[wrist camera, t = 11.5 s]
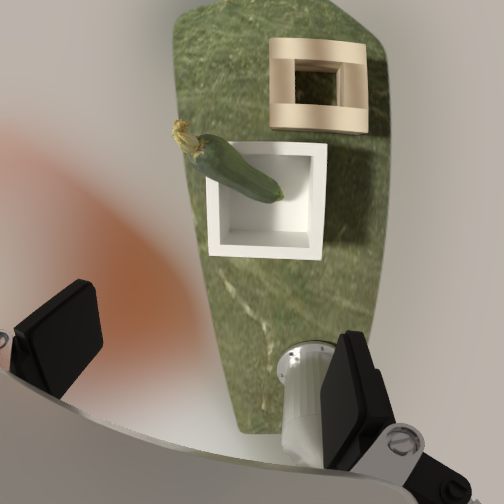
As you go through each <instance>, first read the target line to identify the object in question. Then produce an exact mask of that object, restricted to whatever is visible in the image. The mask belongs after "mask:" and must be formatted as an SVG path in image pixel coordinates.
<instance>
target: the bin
mask: <svg viewBox="0 0 504 504" xmlns="http://www.w3.org/2000/svg"><path fill="white" fill-rule="evenodd" d="M228 143H230V144H231V145H232V146H233V147H234V148H235V149H236V150H237V151H238V152H239V153H240V155H241V156H242V157H243V159H244V160H245V161H246V162H247V163H248V164H249V165H250V166H252V167H253V168H255V169H257V170H259V171H260V172H262V173H264V174H265V175H267V176H268V177H270V178H272V179H274V180H275V181H276V182H277V183H278V186H280V187H281V191H282V192H283V195H284V198H283V200H281V201H278V202H274V203H270V204H267V203H263V202H259V201H256V200H253V199H251V198H248V197H246V196H245V195H243V194H241V193H240V192H238V191H235V190H233V189H231V188H229V187H227V186H225V185H223V184H221V183H219V182H216V181H214V180H212V179H210V178H208V177H206V195H207V223H208V246H209V256H232V257H256V258H280V259H305V260H321V256H322V243H323V230H324V214H325V195H326V171H327V144H321V143H301V142H228Z"/></svg>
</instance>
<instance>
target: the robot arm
mask: <svg viewBox="0 0 504 504" xmlns="http://www.w3.org/2000/svg"><path fill="white" fill-rule="evenodd" d="M14 332H15V336H14V337H12V335H11V333H10V332H8V331H7V330H3V329H0V504H481V503H480V502H479V501H478V500H477V499H476V500H475V501H473V500H472V499H471V495H472V489H471V486H470V483H469V482H468V480H467V479H466V478H465V477H463V476H462V475H460V474H459V473H457V472H455V471H453V470H452V469H450V468H448V467H447V466H445V465H443V464H442V463H440V462H439V461H437V460H435V459H433V458H432V457H430V456H429V455H427V454H426V453H424V452H423V450H424V447H425V442H424V438H423V436H422V435H421V433H420V432H419V431H418V430H417V429H416V428H414V427H413V426H410V425H408V424H404V423H396V421H395V418H394V414H393V411H392V407H391V404H390V400H389V397H388V394H387V391H386V388H385V385H384V381H383V378H382V375H381V372H380V370H379V369H375V368H374V365H373V361H372V358H371V355H370V352H369V349H368V346H367V343H366V340H365V337H364V334H363V332H359V331H350V330H347V331H346V333H345V334H340V336H339V339H338V342H337V345H336V347H335V346H333V345H331V344H329V343H326V342H321V341H307V342H302V343H299V344H296V345H294V346H292V347H290V348H289V349H287V350H286V351H285V352H284V353H283V354H282V356H281V357H280V359H279V361H278V365H277V375H278V378H279V380H280V381H281V382H282V384H283V385H284V386H285V390H284V408H283V424H282V447H283V449H284V452H285V453H286V455H287V456H288V457H289V459H290V460H291V461H292V462H293V463H294V464H295V465H296V466H288V465H278V464H272V463H264V462H258V461H251V460H244V459H239V458H233V457H228V456H223V455H218V454H213V453H209V452H204V451H200V450H195V449H192V448H188V447H184V446H180V445H176V444H173V443H169V442H166V441H163V440H159V439H156V438H153V437H150V436H146V435H144V434H141V433H138V432H135V431H132V430H129V429H127V428H124V427H121V426H118V425H116V424H113V423H111V422H108V421H106V420H103V419H101V418H98V417H96V416H94V415H91V414H89V413H87V412H84V411H82V410H80V409H78V408H76V407H74V406H71V405H69V404H67V403H65V402H63V401H61V400H60V399H61V398H62V396H63V395H64V394H65V393H66V391H67V390H68V389H69V388H70V386H71V385H72V384H73V383H74V381H75V380H76V379H77V378H78V376H79V375H80V374H81V373H82V371H83V370H84V369H85V368H86V367H87V365H88V364H89V363H90V362H91V361H92V359H93V358H94V357H95V356H96V355H97V353H98V352H99V351H100V349H101V348H102V346H103V337H102V332H101V325H100V318H99V312H98V305H97V297H96V290H95V287H94V286H93V285H92V283H91V282H89V281H85V280H82V279H77V280H76V281H74V282H73V283H72V284H70V285H69V286H67V287H66V288H65V289H63V290H62V291H61V292H59V293H58V294H57V295H55V296H54V297H53V298H51V299H50V300H49V301H47V302H46V303H45V304H43V305H42V306H41V307H39V308H38V309H37V310H36V311H34V312H33V313H32V314H30V315H29V316H28V317H27V318H26V319H24V320H23V321H22V322H21V323H19V324H18V325H17V326H16V327H14Z"/></svg>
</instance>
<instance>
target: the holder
mask: <svg viewBox="0 0 504 504" xmlns="http://www.w3.org/2000/svg"><path fill="white" fill-rule="evenodd" d="M269 50H270V128H271V129H272V130H287V131H312V132H329V133H342V134H354V135H359V134H365V133H368V80H367V60H366V45H365V44H359V43H351V42H343V41H333V40H321V39H304V38H269ZM295 71H312V72H327V73H336V84H337V106H327V105H311V104H295Z"/></svg>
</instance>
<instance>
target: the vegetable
mask: <svg viewBox="0 0 504 504" xmlns="http://www.w3.org/2000/svg"><path fill="white" fill-rule="evenodd" d="M181 120H182V119H181ZM181 120H176V121H175V122H174V127H173V128H172V129H173V135H172V136H174V137H173V138H175V140H176V141H177V143H178V145H179V147H180V148H181V150H182V151H183V152H184V153H188V157H189V160H190V163H191V165H192V166H193V168H194V169H195V170H197V171H198V172H199V173H201V174H203V175H204V176H206V177H208V178H210V179H212V180H214V181H216V182H219V183H221V184H223V185H225V186H227V187H229V188H231V189H233V190H235V191H238V192H240V193H241V194H243V195H245V196H246V197H248V198H251V199H253V200H256V201H259V202H263V203H267V204H270V203H274V202H278V201H281V200H283V198H284V195H283V192H282V191H281V187H280V186H278V183H277V182H276V181H275V180H274V179H272V178H270V177H268V176H267V175H265V174H264V173H262V172H260V171H259V170H257V169H255V168H253V167H252V166H250V165H249V164H248V163H247V162H246V161H245V160H244V159H243V157H242V156H241V155H240V153H239V152H238V151H237V150H236V149H235V148H234V147H233V146H232V145H231V144H230V143H228V142H227V141H226V140H224V139H223V138H221V137H218V136H215V135H210V134H204V135H200V136H197V137H195V136H194V135H193V134H192V133H190V132H189V131H187V130H185V129H183V125H184V127H187V126H189V124H190V123H188V122H184V121H181Z"/></svg>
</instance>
